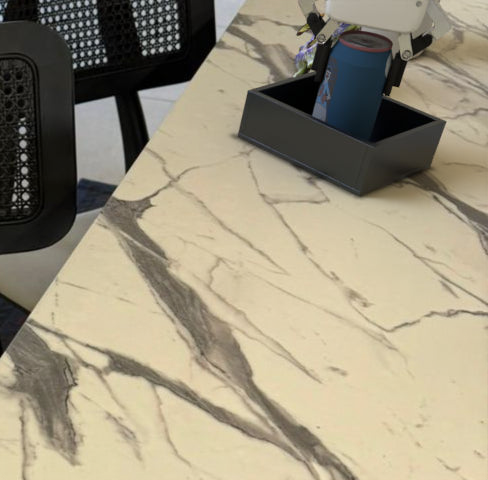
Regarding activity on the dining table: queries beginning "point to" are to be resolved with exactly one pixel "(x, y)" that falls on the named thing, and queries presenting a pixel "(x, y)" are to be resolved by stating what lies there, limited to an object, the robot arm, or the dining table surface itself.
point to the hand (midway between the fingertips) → (353, 83)
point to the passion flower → (309, 49)
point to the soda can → (354, 82)
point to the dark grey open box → (339, 137)
